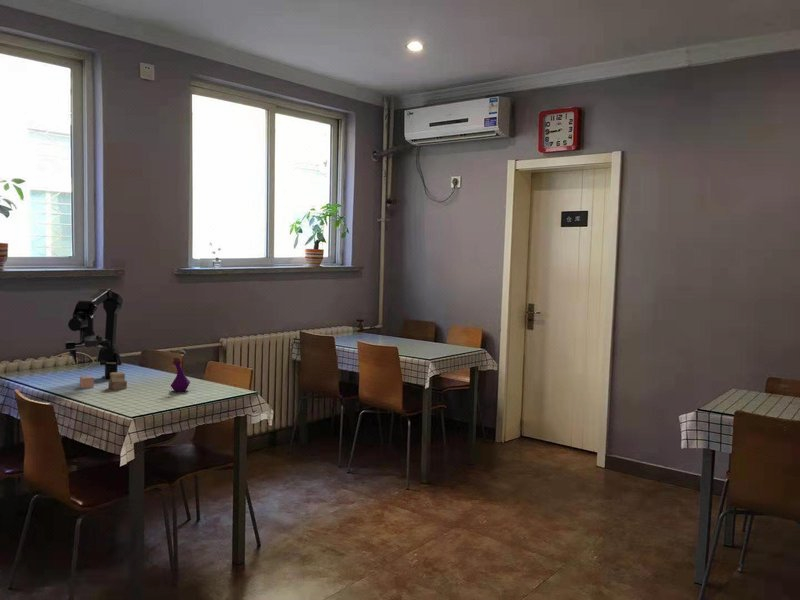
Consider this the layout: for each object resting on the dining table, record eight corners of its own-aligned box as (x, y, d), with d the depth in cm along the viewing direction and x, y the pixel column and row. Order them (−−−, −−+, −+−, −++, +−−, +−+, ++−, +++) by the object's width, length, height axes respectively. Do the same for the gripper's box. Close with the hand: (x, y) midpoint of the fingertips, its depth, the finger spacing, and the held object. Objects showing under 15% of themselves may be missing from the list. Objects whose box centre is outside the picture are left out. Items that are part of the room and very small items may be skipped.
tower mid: (110, 380, 300) (110, 372, 300) (122, 379, 303) (122, 371, 303) (112, 382, 296) (112, 374, 296) (124, 381, 299) (124, 373, 299)
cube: (79, 387, 301) (79, 377, 301) (90, 385, 304) (90, 376, 304) (83, 388, 298) (82, 378, 298) (93, 387, 301) (93, 377, 300)
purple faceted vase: (170, 392, 293) (170, 351, 292) (172, 389, 300) (172, 349, 299) (188, 392, 294) (188, 351, 293) (190, 389, 302) (190, 349, 301)
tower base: (108, 388, 300) (108, 380, 299) (120, 386, 304) (120, 379, 304) (114, 390, 296) (114, 382, 296) (126, 388, 300) (126, 380, 300)
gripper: (69, 331, 287) (69, 368, 288) (114, 329, 299) (114, 364, 300) (61, 329, 295) (62, 364, 297) (106, 326, 308) (106, 360, 309)
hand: (86, 363), depth 300 cm, fingers open, 9 cm apart
